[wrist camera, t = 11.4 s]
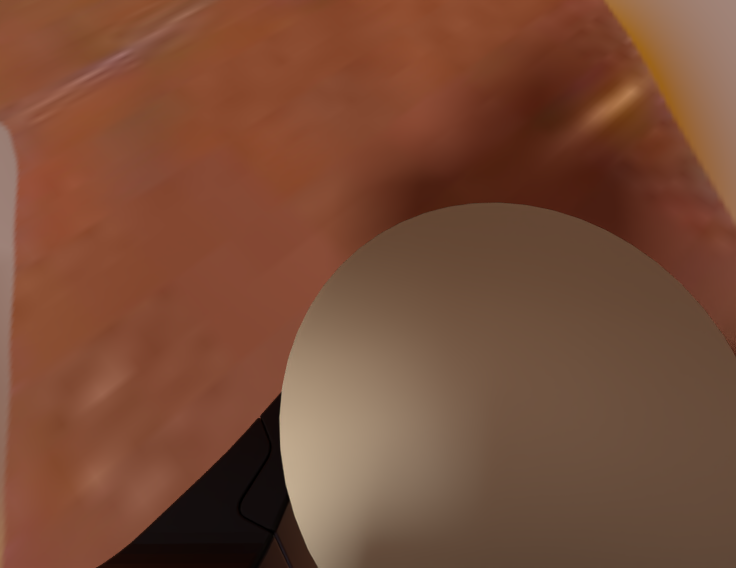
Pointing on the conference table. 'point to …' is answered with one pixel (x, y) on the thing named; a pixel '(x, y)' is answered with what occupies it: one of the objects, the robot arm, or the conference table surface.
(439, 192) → the conference table surface
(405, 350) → the tan tall cylinder
